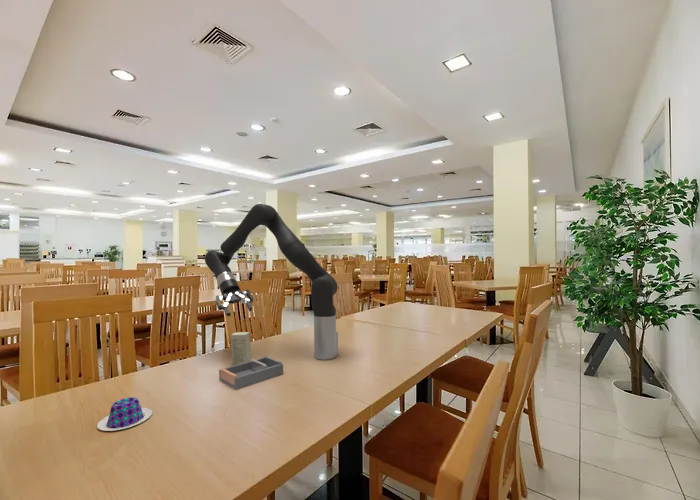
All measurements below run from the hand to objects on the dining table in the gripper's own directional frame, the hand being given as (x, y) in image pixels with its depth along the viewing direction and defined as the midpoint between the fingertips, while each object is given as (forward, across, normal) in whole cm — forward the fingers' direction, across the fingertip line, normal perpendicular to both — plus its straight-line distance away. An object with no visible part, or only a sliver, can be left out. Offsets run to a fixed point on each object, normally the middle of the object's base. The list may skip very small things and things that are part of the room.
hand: (240, 312), depth 134 cm
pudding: (+32, -42, -8) cm, 53 cm away
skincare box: (+16, -4, +12) cm, 20 cm away
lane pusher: (+27, -2, +1) cm, 27 cm away
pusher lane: (+28, -5, +1) cm, 28 cm away
